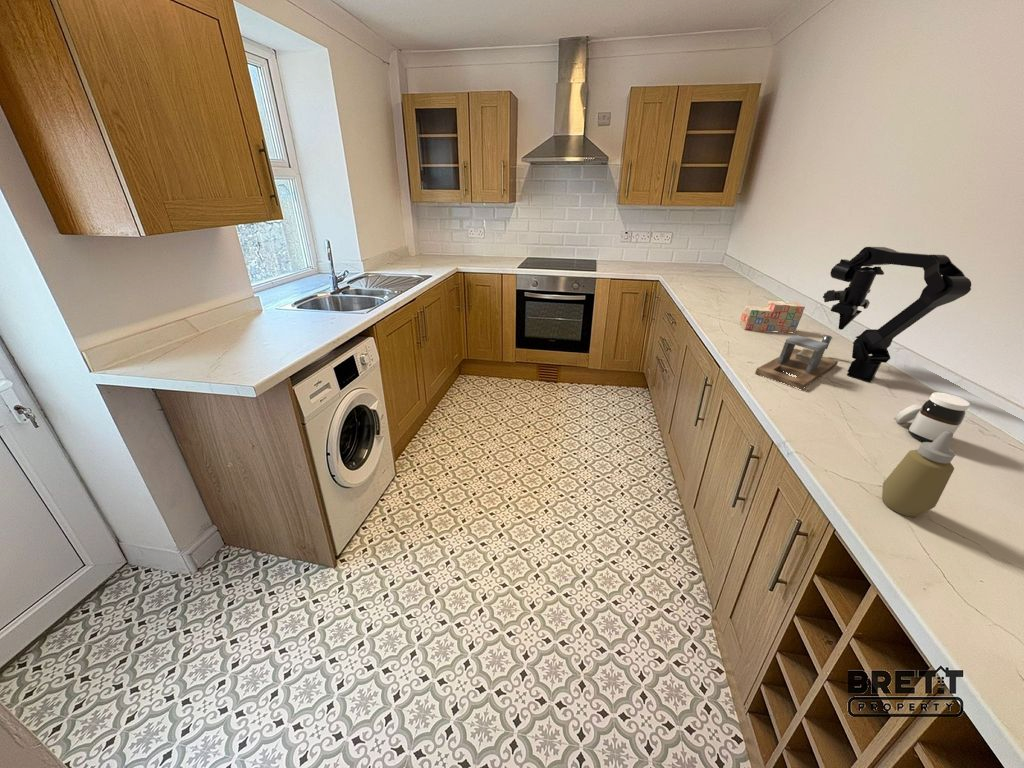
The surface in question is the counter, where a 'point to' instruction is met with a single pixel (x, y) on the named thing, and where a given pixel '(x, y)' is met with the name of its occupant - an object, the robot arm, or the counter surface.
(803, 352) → the maple block
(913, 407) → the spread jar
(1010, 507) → the counter surface
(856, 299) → the robot arm
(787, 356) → the tunnel deck
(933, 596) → the counter surface
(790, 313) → the stack of blocks
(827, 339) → the sled
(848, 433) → the counter surface
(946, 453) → the squeeze bottle
